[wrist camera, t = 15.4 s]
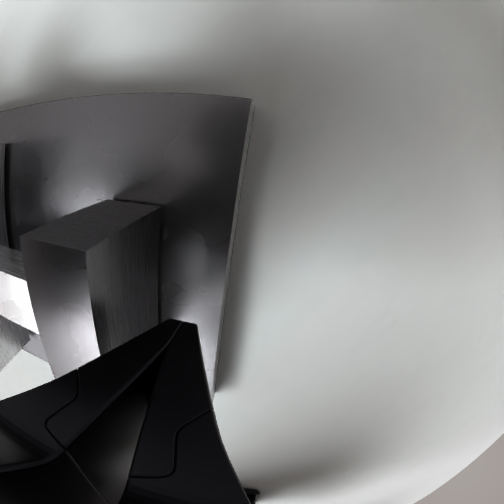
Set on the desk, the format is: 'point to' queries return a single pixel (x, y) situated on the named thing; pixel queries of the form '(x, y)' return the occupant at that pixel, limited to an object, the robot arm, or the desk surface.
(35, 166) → the press bed
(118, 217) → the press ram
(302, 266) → the desk surface
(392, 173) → the desk surface
